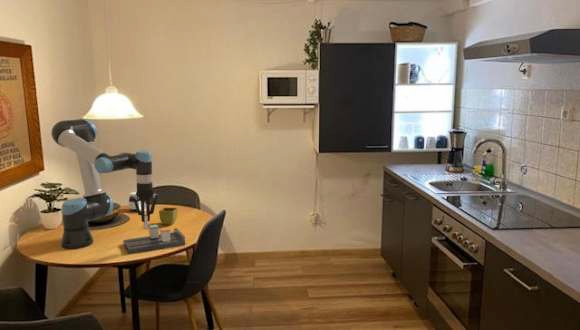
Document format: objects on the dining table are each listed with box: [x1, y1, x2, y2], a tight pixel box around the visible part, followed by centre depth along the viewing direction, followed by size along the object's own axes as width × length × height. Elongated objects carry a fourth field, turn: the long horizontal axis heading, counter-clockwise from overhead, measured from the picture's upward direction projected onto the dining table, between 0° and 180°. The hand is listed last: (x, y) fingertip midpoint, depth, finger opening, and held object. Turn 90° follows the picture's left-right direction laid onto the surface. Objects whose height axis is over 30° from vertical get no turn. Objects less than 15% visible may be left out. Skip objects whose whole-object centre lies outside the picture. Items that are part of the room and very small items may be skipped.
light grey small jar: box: [148, 224, 160, 239], centre depth 244 cm, size 4×4×6 cm
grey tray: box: [122, 227, 186, 255], centre depth 241 cm, size 28×16×5 cm, turn 119°
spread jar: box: [128, 191, 146, 212], centre depth 306 cm, size 12×11×12 cm
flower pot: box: [158, 207, 179, 226], centre depth 276 cm, size 9×9×9 cm
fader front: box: [159, 227, 171, 242], centre depth 239 cm, size 4×4×6 cm
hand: (145, 227), depth 234 cm, fingers closed
